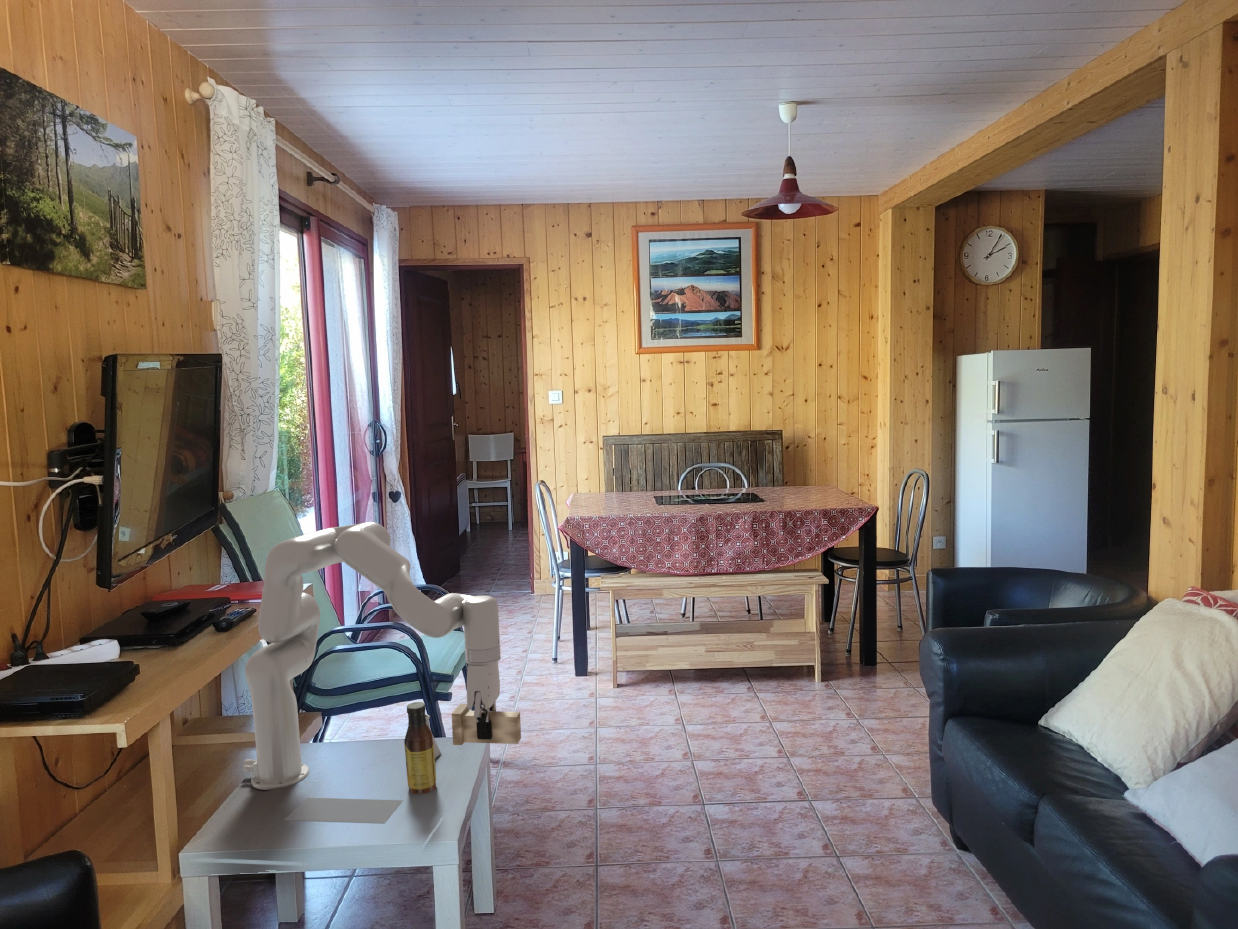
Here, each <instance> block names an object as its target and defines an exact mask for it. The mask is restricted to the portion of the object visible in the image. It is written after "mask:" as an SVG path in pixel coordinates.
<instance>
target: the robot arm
mask: <svg viewBox="0 0 1238 929" xmlns="http://www.w3.org/2000/svg"><path fill="white" fill-rule="evenodd" d="M390 536H391V535H390V533H389V532H388V529H386V528H385V527H384V526H383V525H382V524H379V523H378V522H373V521H367V522H361V523H356V524H355V523H354V524H349V525H343V526H335V527H328V528H324V529H320V530H317V531H312V532H309V533H305V534H301V535H298V536H295V537H291V538H288V539H286V540H283V541H280V542H279V543H277V544H275V545H274V546H273V547H272V548H271V549H270V550H269V552H268V554H267V556H266V561H265V565H264V566H265V568H264V569H265V570H264V580H263V581H264V582H263V588H262V592H261V601H260V607H259V612H258V613H259V615H258V621H257V630H258V633H259V636H260V638H261V639H262V640H263V641H265V642H268V643H269V644H267V645H265V646H263V647H261V648H259V649H258V650H256V651H255V652H254V653H252V655H250V657H249V658H248V660H247V662H246V665H245V668H244V670H245V671H244V672H245V673H244V674H245V679H246V682H247V685H248V689H249V693H250V697H251V699H250V700H251V705H252V715H253V716H252V717H253V724H254V725H253V726H254V727H253V728H254V738H255V753H256V759H251V758H247V759H245V760H244V762H243V768H242V771H243V772H252V773H253V775H252V777H250V778H251V780H250V783H251V786H252V787H253V788H255V789H257V790H262V791H263V790H264V791H269V790H271V789H272V790H273V789H279V788H280V789H281V788H285V787H288V786H291V785H294V784H296V783H299V782H301V781H302V780H304V779H305V778H307V776H308V775H309V773H310V768H309V766H308V765H307V764H305V763H302V753H301V740H300V739H301V738H300V727H299V726H300V725H299V715H298V703H297V702H298V701H297V696H296V694H295V692H294V690H293V688H292V686H291V682H290V681H291V680H292V679H294V678H295V677H297V676H299V675H301V674H302V673H304V672H305V671H306V670H308V669H309V668H310V666H311V665H312V664H313V661H314V658H315V654H316V650H317V649H316V648H317V643H318V635H319V627H320V622H321V611H320V607H319V604H318V602H317V600H316V599H315V597H313V595H311V594H310V593H306V592H304V580H303V576H302V575H303V574H307V573H312V572H316V571H318V570H321V569H323V568H324V569H325V568H327V567H329V566H333V565H335V564H340V563H345V564H346V565H347V566H348V567H350V568H351V569H352V570H354V571H355V572H357V573H358V574H359V575H361V576H362V577H364V578H365V579H366V580H368V581H369V582H370V583H372V584H373V585H374V586H376V587H378V588H379V589H380V590H382V591H383V592H384V593H385V596H386V598H387V601H388V602H389V604H390V605H391V607H392V609H393V610H394V612H395V613H396V614H397V615H398V617H400V619H402V620H403V621H404V622H405V623H407V624H408V625H410V626H411V627H412V628H414V629H415V630H417V632H419V633H420V634H423V635H425V636H426V637H427V636H428V637H429V638H434V639H437V638H438V639H439V638H443V637H445V636H447V635H449V634H450V633H451V632H453V631H454V630H456V629H459V628H461V627H463V633H464V651H465V655H464V656H465V663H466V664H467V669H466V670H467V671H466V704H467V708H468V709H469V711H472V709H473V708H474V709H473V711H474V717H476V723H477V738H478V739H486V740H490V739H492V723H491V721H490V711H497V703H496V702H497V700H498V698H499V697H500V693H501V682H500V681H501V680H500V669H499V668H500V667H499V662H500V661H501V659H502V658H501V656H502V655H501V640H500V638H501V636H500V622H499V620H500V619H499V604H498V601H497V599H496V598H495V597H493V596H491V595H468V594H462V593H458V592H455V593H454V592H451V593H447V594H444V595H443V596H441V597H439V598H437V599H435V600H433V599H431V598H430V597H429V596H427V595H425V594H424V593H423V592H422V591H420V590H419V589H418V588H417V587H416V585H415V584H414V583H413V580H412V578H411V574H410V572H411V561H409V560H408V558H406V557H405V556H403V555H402V554H400V553H399V552H398V551H397V550H396V549H394V548H392V547H391V546H390V545H391V537H390ZM482 711H486V714H485V713H483V712H482Z"/></svg>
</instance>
